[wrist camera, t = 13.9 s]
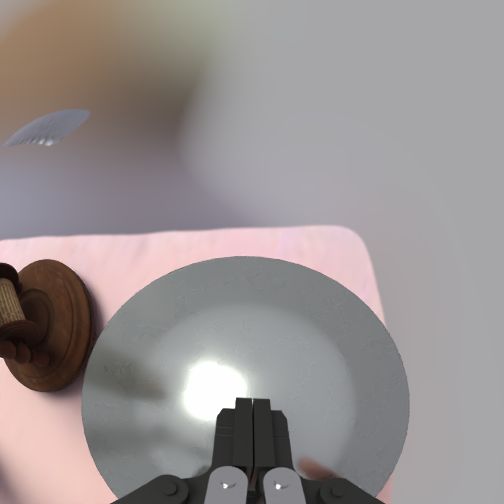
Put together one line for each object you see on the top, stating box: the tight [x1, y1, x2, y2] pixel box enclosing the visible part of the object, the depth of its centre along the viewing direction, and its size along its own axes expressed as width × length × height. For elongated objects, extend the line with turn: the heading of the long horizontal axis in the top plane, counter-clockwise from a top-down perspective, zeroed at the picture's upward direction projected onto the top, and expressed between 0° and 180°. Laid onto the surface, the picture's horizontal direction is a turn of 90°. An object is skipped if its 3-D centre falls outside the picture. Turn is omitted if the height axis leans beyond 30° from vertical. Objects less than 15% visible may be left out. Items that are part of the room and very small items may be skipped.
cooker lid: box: [82, 256, 409, 504], centre depth 12 cm, size 19×19×3 cm
